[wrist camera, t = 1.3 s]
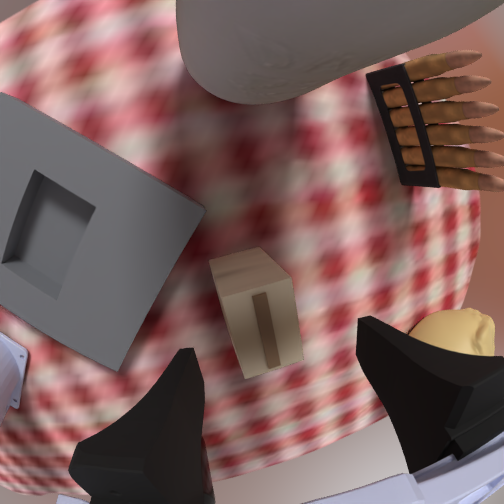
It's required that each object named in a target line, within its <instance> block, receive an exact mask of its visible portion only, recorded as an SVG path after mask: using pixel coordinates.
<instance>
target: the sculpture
mask: <svg viewBox="0 0 504 504" xmlns="http://www.w3.org/2000/svg"><path fill="white" fill-rule="evenodd" d="M494 335H495V325H494V322H493V320H492V318H491V317H490V316H487V315H484V314H481V313H480V312H479V311H478V310H473V309H472V308H466V309H462V310H442V311H438V312H434V313H432V314H430V315H428V316H426V317H425V318H424V319H422V320H421V321H420V322H419V323H418V324H417V325H416V326H415V327H414V329H413V330H412V331H411V332H410V334H409V336H411V337H414V338H416V339H418V340H420V341H423V342H425V343H428V344H431V345H434V346H437V347H440V348H443V349H446V350H450V351H455V352H459V353H465V354H471V355H480V356H494V349H495V346H494Z"/></svg>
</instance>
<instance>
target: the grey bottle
mask: <svg viewBox="0 0 504 504" xmlns="http://www.w3.org/2000/svg"><path fill="white" fill-rule="evenodd" d="M503 3H504V0H176V22H177V31H178V39H179V47H180V52H181V56H182V59H183V61H184V64H185V66H186V68H187V71H188V72H189V74H190V75H191V76H192V78H193V79H194V80H195V81H196V82H197V83H198V84H199V85H200V86H202V87H203V88H204V89H205V90H207V91H208V92H210V93H211V94H213V95H215V96H217V97H219V98H221V99H224V100H227V101H230V102H234V103H239V104H250V105H256V104H269V103H275V102H280V101H284V100H288V99H292V98H295V97H298V96H300V95H303V94H306V93H308V92H310V91H312V90H315V89H317V88H319V87H321V86H323V85H325V84H327V83H329V82H331V81H333V80H335V79H338V78H340V77H342V76H345V75H347V74H349V73H352V72H355V71H357V70H360V69H363V68H365V67H368V66H371V65H373V64H376V63H379V62H381V61H384V60H386V59H389V58H392V57H394V56H397V55H400V54H402V53H405V52H407V51H410V50H413V49H415V48H419V47H421V46H424V45H426V44H429V43H431V42H434V41H436V40H439V39H441V38H443V37H446V36H448V35H450V34H452V33H454V32H456V31H458V30H460V29H462V28H464V27H466V26H467V25H469V24H471V23H473V22H475V21H476V20H478V19H480V18H481V17H483V16H484V15H486V14H488V13H489V12H491V11H493V10H494V9H496V8H497V7H499V6H500V5H502V4H503Z"/></svg>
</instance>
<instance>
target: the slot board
mask: <svg viewBox="0 0 504 504" xmlns="http://www.w3.org/2000/svg"><path fill="white" fill-rule="evenodd" d="M205 212H206V209H205V208H204V206H203V205H201V204H200V203H198V202H196V201H195V200H193V199H191V198H189V197H188V196H186V195H184V194H183V193H181V192H179V191H178V190H176V189H174V188H173V187H171V186H169V185H168V184H166V183H164V182H162V181H161V180H159V179H157V178H156V177H154V176H152V175H151V174H149V173H147V172H145V171H144V170H142V169H140V168H139V167H137V166H135V165H133V164H132V163H130V162H128V161H127V160H125V159H123V158H121V157H120V156H118V155H116V154H115V153H113V152H111V151H109V150H108V149H106V148H104V147H102V146H101V145H99V144H97V143H95V142H94V141H92V140H90V139H89V138H87V137H85V136H83V135H82V134H80V133H78V132H76V131H75V130H73V129H71V128H69V127H67V126H66V125H64V124H62V123H60V122H59V121H57V120H55V119H53V118H52V117H50V116H48V115H46V114H44V113H43V112H41V111H39V110H37V109H36V108H34V107H32V106H30V105H28V104H27V103H25V102H23V101H21V100H19V99H18V98H15V97H13V96H10V95H8V94H5V93H2V92H1V93H0V304H1V305H2V306H3V307H5V308H6V309H8V310H9V311H11V312H12V313H14V314H15V315H16V316H18V317H19V318H21V319H23V320H24V321H26V322H27V323H29V324H30V325H32V326H33V327H35V328H37V329H38V330H40V331H42V332H43V333H45V334H46V335H48V336H50V337H52V338H53V339H55V340H57V341H58V342H60V343H62V344H64V345H66V346H67V347H69V348H71V349H73V350H75V351H77V352H78V353H80V354H82V355H84V356H86V357H88V358H90V359H92V360H94V361H96V362H98V363H100V364H102V365H104V366H106V367H108V368H110V369H113V370H115V371H117V372H118V370H119V368H120V366H121V364H122V362H123V360H124V358H125V356H126V354H127V352H128V350H129V348H130V346H131V344H132V342H133V340H134V338H135V336H136V334H137V332H138V330H139V328H140V327H141V325H142V323H143V321H144V319H145V317H146V315H147V313H148V311H149V310H150V308H151V306H152V304H153V302H154V300H155V299H156V297H157V295H158V293H159V291H160V290H161V288H162V286H163V284H164V282H165V281H166V279H167V277H168V275H169V273H170V272H171V270H172V268H173V266H174V265H175V263H176V261H177V259H178V258H179V256H180V254H181V253H182V251H183V249H184V247H185V246H186V244H187V242H188V241H189V239H190V237H191V236H192V234H193V232H194V231H195V229H196V227H197V226H198V224H199V222H200V221H201V219H202V217H203V216H204V214H205Z"/></svg>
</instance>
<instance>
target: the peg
mask: <svg viewBox="0 0 504 504" xmlns="http://www.w3.org/2000/svg"><path fill="white" fill-rule="evenodd" d="M208 261H209V265H210V268H211V272H212V276H213V280H214V283H215V287H216V291H217V294H218V298H219V301H220V305H221V309H222V312H223V316H224V319H225V323H226V326H227V329H228V332H229V335H230V338H231V341H232V344H233V347H234V350H235V353H236V355H237V358H238V361H239V364H240V367H241V369H242V372H243V375H244V378H245V379H248V378H251V377H254V376H258V375H261V374H264V373H267V372H270V371H273V370H276V369H279V368H282V367H285V366H288V365H291V364H294V363H297V362H299V361H302V360H304V356H303V349H302V342H301V335H300V329H299V322H298V315H297V309H296V303H295V296H294V290H293V284H292V278H291V276H289V275H288V274H287V273H286V272H285V271H284V270H283V269H282V268H281V267H280V266H279V265H278V264H277V263H276V262H275V261H274V260H273V259H272V258H271V257H270V256H269V255H268V254H267V253H265V252H264V251H263V250H262V249H261V248H260V247H255V248H252V249H248V250H244V251H240V252H237V253H233V254H229V255H226V256H222V257H218V258H215V259H211V260H208Z"/></svg>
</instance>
